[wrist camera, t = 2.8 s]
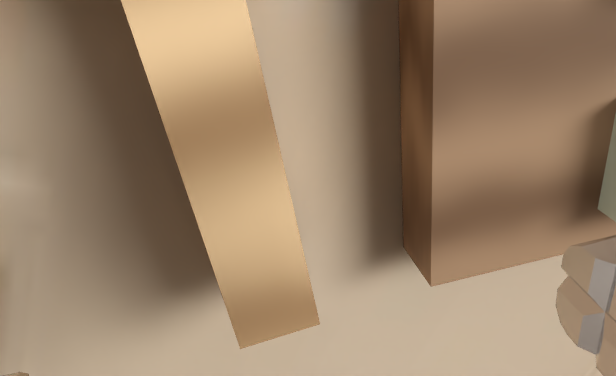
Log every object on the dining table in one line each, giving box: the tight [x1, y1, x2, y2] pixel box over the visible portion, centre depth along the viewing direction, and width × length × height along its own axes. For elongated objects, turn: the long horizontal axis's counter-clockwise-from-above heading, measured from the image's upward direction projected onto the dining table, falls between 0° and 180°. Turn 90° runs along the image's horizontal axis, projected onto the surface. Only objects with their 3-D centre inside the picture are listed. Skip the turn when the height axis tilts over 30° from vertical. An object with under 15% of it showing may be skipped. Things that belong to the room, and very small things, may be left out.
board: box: [399, 0, 616, 287], centre depth 21 cm, size 18×16×3 cm
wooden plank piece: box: [121, 0, 320, 349], centre depth 18 cm, size 16×3×5 cm, turn 10°
